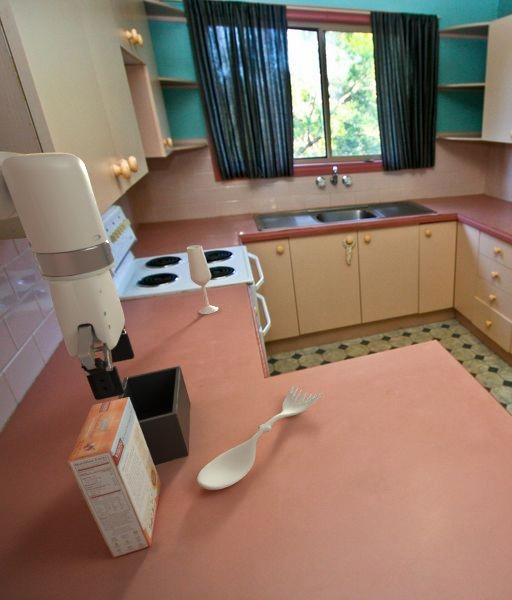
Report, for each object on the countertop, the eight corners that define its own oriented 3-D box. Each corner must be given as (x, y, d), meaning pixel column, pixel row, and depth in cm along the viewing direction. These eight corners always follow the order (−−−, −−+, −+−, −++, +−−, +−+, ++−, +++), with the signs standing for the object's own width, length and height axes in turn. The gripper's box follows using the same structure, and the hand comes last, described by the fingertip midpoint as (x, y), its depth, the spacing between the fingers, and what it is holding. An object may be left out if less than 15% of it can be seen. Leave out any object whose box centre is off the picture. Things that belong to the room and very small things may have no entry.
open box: (124, 473, 84) (108, 430, 80) (137, 415, 101) (124, 377, 97) (188, 455, 88) (176, 413, 84) (190, 402, 105) (180, 365, 101)
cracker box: (127, 494, 80) (91, 403, 71) (162, 484, 81) (131, 394, 73) (109, 561, 68) (63, 460, 59) (151, 548, 69) (113, 448, 61)
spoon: (324, 402, 103) (323, 391, 102) (224, 504, 77) (220, 490, 76) (294, 394, 107) (292, 382, 106) (189, 488, 81) (184, 474, 79)
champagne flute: (194, 311, 155) (179, 248, 146) (211, 305, 160) (197, 243, 151) (206, 315, 152) (190, 251, 142) (222, 308, 157) (208, 245, 147)
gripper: (59, 245, 58) (98, 354, 65) (11, 288, 44) (68, 422, 50) (122, 238, 61) (153, 343, 68) (97, 276, 46) (139, 405, 53)
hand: (116, 376), depth 59 cm, fingers open, 9 cm apart
